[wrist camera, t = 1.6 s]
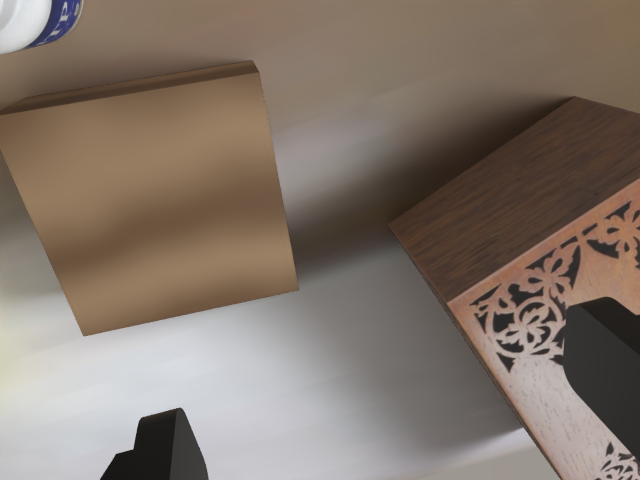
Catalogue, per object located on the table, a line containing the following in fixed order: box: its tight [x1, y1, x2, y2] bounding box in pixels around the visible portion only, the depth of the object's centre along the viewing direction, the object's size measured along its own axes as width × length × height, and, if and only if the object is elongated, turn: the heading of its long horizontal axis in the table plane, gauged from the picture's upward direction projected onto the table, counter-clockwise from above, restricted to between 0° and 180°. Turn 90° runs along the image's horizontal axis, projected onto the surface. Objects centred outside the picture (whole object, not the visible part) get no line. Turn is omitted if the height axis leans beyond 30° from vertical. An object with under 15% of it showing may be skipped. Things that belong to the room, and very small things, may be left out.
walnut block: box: [0, 61, 299, 336], centre depth 27 cm, size 12×12×5 cm
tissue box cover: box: [388, 96, 640, 480], centre depth 34 cm, size 26×14×10 cm, turn 34°
